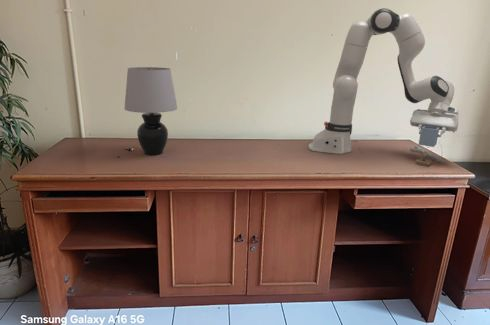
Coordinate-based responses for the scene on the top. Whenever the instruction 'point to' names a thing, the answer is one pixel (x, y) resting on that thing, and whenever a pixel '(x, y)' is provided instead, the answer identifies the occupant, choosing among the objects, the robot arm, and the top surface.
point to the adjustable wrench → (420, 150)
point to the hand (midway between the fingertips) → (429, 135)
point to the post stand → (423, 161)
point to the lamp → (150, 104)
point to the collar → (428, 136)
